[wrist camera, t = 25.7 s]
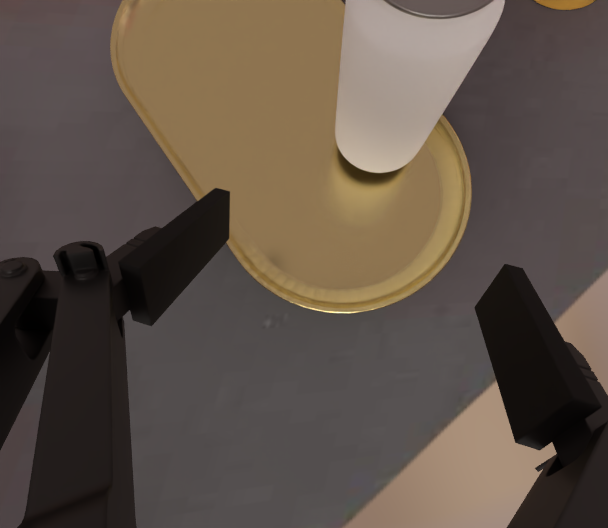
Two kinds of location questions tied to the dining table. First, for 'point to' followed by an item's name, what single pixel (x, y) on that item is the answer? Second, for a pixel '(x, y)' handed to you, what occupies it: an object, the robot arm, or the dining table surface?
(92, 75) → the dining table surface
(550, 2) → the jar
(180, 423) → the dining table surface
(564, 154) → the dining table surface
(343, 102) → the can
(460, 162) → the serving platter
